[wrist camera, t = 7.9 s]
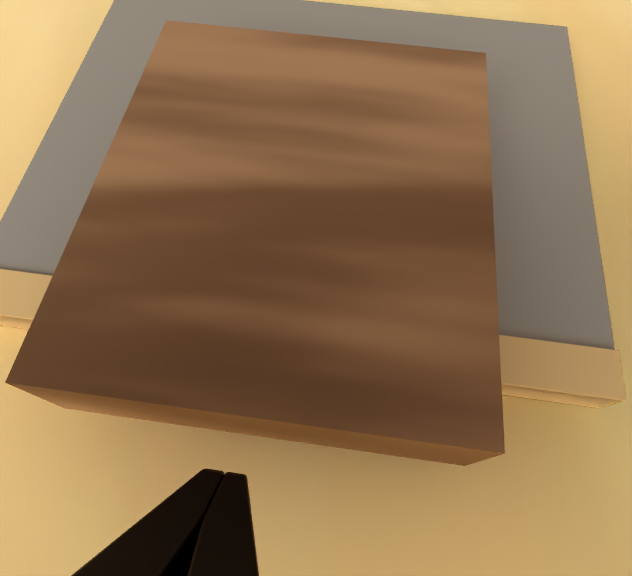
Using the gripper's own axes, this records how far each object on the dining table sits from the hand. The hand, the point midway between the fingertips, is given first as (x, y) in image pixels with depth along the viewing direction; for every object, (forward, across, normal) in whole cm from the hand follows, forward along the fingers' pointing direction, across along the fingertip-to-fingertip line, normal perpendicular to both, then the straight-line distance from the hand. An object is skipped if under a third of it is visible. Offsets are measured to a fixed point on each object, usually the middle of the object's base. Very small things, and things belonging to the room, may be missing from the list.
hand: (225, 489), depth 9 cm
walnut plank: (+3, 0, +1) cm, 3 cm away
